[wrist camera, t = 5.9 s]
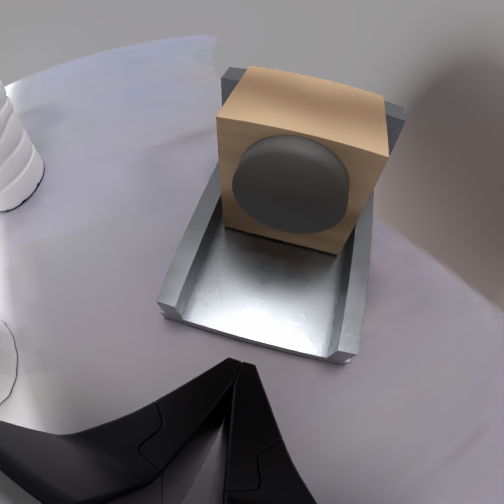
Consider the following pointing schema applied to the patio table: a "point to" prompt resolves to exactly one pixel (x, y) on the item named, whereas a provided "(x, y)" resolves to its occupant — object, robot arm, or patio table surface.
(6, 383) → the white cup
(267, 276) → the grey open holder
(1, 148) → the water bottle
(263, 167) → the tan box
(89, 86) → the patio table surface
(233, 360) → the robot arm
